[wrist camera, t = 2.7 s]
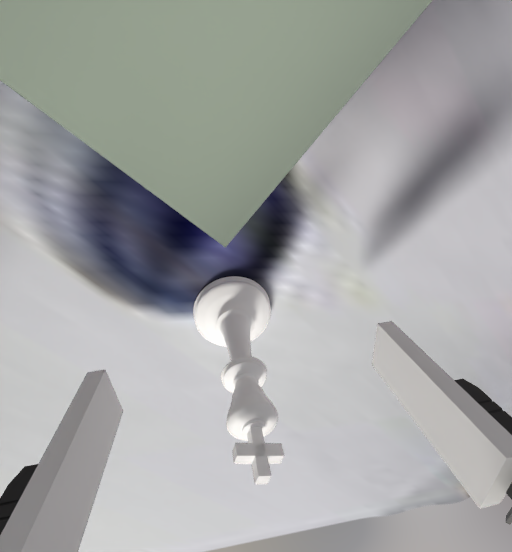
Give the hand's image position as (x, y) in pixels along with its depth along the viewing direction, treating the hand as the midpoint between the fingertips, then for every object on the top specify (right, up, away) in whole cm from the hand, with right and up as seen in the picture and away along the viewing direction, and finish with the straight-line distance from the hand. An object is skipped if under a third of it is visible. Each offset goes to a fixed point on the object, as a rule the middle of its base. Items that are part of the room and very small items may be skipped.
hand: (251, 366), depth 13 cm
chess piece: (-1, +2, +4) cm, 5 cm away
